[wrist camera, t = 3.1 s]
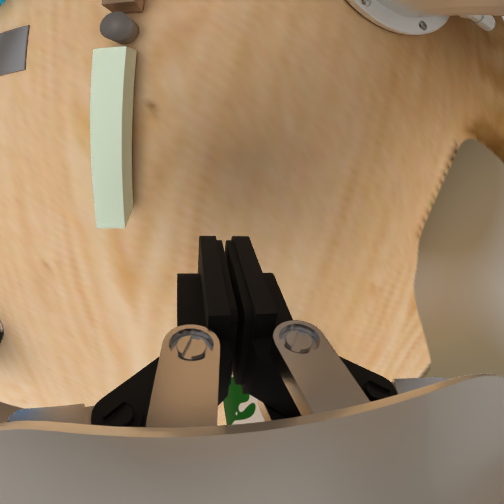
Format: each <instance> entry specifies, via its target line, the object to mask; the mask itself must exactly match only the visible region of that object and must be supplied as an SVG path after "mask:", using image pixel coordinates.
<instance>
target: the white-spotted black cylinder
mask: <svg viewBox="0 0 504 504" xmlns="http://www.w3.org/2000/svg"><path fill="white" fill-rule="evenodd" d="M3 334H4V333H3V327H2V324H1V322H0V343H1V340H2V338H3Z"/></svg>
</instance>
